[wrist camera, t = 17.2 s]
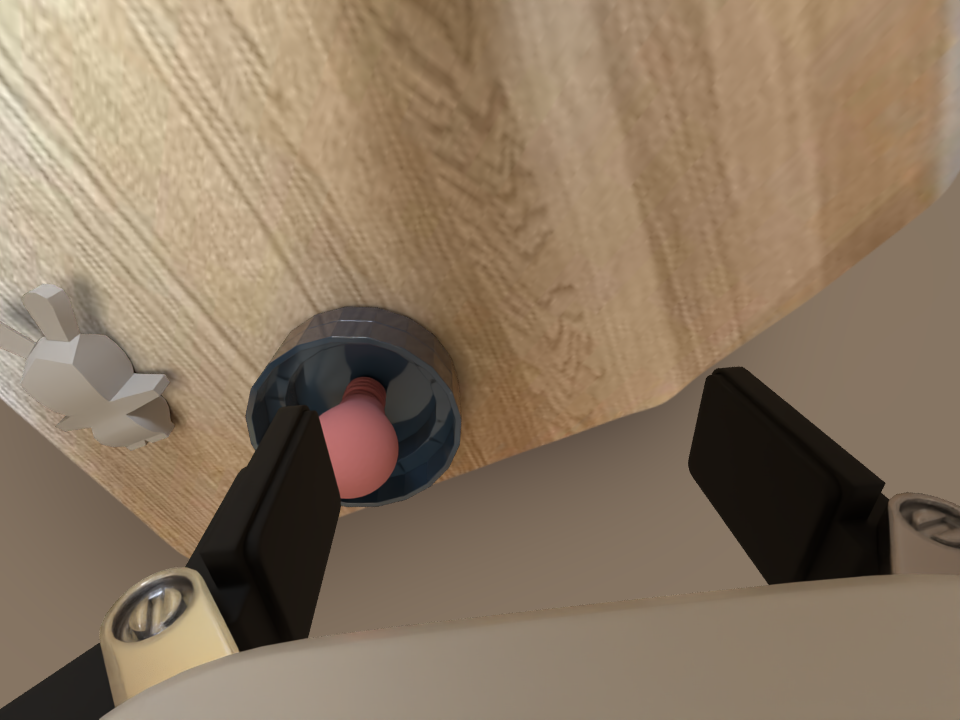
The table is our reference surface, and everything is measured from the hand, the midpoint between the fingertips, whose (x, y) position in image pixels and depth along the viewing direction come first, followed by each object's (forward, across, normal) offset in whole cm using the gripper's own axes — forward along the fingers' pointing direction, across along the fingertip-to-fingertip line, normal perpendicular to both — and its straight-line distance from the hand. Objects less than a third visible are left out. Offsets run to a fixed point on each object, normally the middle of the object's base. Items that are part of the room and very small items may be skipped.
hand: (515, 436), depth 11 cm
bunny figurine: (+28, +32, +10) cm, 44 cm away
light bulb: (+28, +10, +15) cm, 33 cm away
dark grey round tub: (+28, +10, +15) cm, 34 cm away
